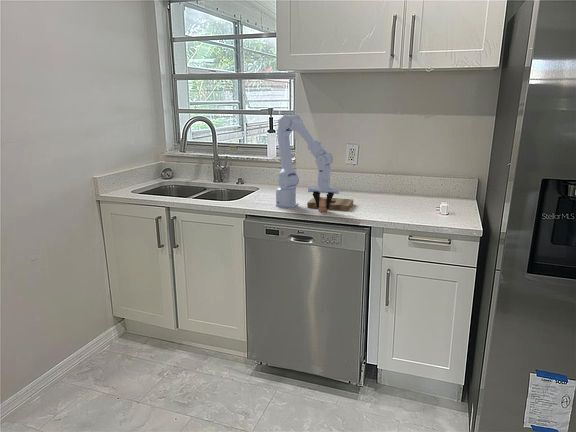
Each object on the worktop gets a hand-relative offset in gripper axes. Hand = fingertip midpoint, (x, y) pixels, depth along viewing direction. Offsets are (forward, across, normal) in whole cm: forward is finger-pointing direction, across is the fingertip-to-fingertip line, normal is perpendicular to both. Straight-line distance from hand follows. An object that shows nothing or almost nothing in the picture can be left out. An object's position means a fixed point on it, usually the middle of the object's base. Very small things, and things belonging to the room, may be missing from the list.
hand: (323, 207), depth 200 cm
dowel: (+2, 0, 0) cm, 2 cm away
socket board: (+2, +1, +12) cm, 12 cm away
